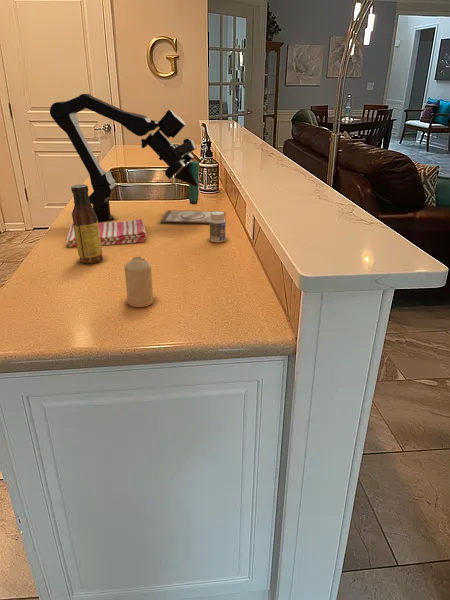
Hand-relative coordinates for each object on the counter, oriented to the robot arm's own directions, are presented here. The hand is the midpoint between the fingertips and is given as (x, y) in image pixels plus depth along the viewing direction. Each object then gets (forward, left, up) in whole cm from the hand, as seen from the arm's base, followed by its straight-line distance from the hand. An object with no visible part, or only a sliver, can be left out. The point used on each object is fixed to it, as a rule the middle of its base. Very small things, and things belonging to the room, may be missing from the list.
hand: (198, 184), depth 156 cm
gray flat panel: (-4, 0, -12) cm, 13 cm away
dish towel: (+2, -32, -13) cm, 35 cm away
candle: (+52, -39, -13) cm, 66 cm away
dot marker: (-1, -1, -7) cm, 7 cm away
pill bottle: (+22, -4, -13) cm, 25 cm away
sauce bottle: (+21, -42, -13) cm, 49 cm away
